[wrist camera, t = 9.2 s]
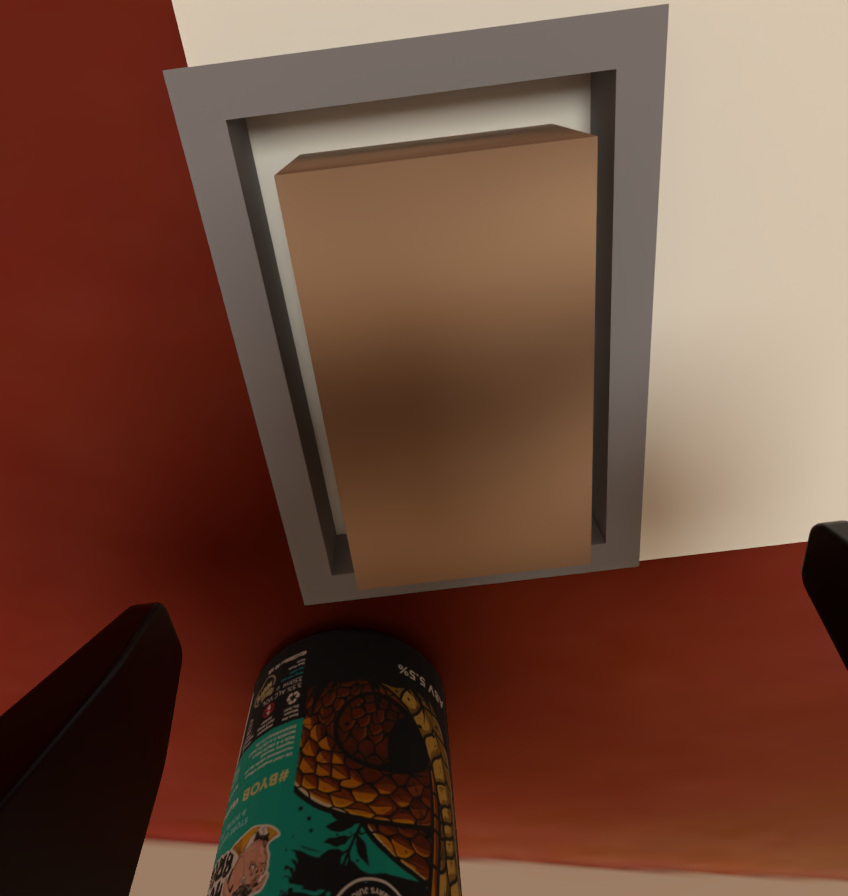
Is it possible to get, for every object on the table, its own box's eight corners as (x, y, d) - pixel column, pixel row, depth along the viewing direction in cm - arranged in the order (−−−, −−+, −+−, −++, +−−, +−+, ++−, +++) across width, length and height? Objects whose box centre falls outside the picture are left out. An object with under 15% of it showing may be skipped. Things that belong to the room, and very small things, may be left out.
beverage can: (478, 697, 26) (536, 1115, 15) (336, 769, 28) (302, 1190, 17) (368, 584, 23) (348, 1007, 13) (217, 672, 25) (89, 1108, 14)
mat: (1236, -148, 14) (1395, -191, 12) (997, 507, 23) (1065, 555, 20) (177, -6, 15) (138, -21, 12) (322, 586, 23) (314, 642, 21)
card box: (556, 481, 21) (590, 563, 17) (363, 503, 21) (357, 589, 17) (552, 123, 16) (597, 135, 12) (300, 154, 16) (273, 175, 12)
